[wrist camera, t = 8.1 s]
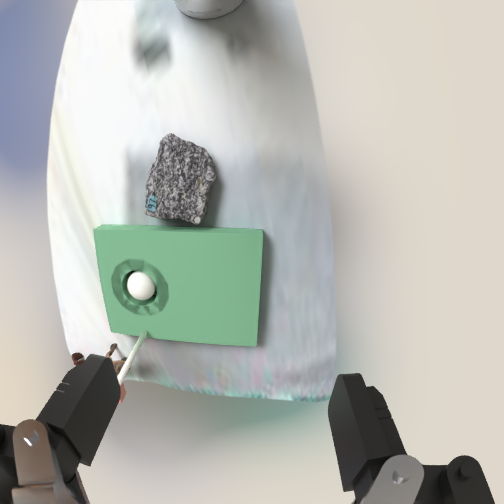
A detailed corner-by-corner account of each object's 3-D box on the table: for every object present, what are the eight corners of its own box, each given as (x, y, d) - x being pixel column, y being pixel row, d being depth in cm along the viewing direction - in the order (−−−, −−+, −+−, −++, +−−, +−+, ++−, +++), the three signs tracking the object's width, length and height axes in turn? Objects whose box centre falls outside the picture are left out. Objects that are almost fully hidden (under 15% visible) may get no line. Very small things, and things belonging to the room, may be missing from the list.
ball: (121, 270, 36) (143, 274, 34) (140, 266, 39) (162, 270, 38) (121, 299, 36) (143, 305, 35) (140, 294, 40) (161, 299, 39)
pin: (142, 329, 39) (111, 385, 28) (147, 329, 39) (117, 386, 28) (145, 345, 40) (117, 402, 29) (150, 346, 40) (123, 403, 29)
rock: (227, 148, 33) (223, 148, 29) (202, 226, 37) (196, 236, 33) (169, 132, 33) (158, 130, 29) (148, 209, 36) (135, 216, 32)
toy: (117, 352, 51) (146, 372, 40) (86, 377, 45) (107, 407, 35) (101, 330, 49) (126, 346, 39) (69, 356, 44) (84, 381, 33)
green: (102, 224, 36) (93, 229, 34) (262, 229, 36) (263, 235, 34) (117, 323, 42) (111, 332, 39) (256, 336, 42) (256, 346, 39)
